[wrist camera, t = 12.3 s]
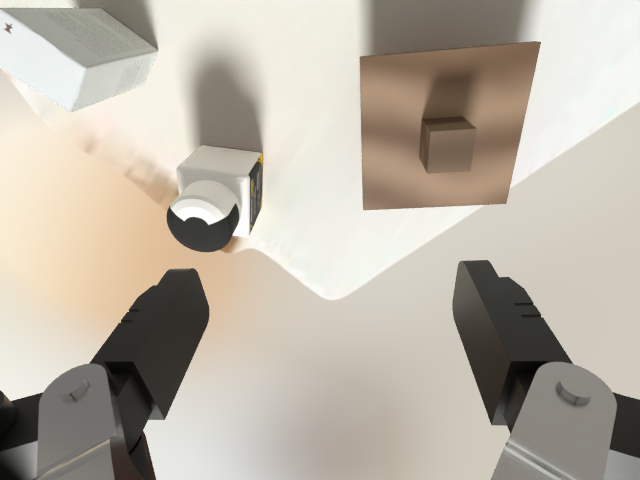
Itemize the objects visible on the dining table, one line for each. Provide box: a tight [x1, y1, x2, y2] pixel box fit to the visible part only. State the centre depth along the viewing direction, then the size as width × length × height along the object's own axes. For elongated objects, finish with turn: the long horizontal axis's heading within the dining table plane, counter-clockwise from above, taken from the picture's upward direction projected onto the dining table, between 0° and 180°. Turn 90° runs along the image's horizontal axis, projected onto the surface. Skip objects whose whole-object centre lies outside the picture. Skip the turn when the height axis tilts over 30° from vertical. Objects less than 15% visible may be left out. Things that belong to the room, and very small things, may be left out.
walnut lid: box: [360, 41, 541, 210], centre depth 31 cm, size 14×14×5 cm
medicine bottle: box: [167, 145, 263, 252], centre depth 37 cm, size 7×7×12 cm
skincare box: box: [0, 8, 158, 112], centre depth 30 cm, size 6×4×12 cm
